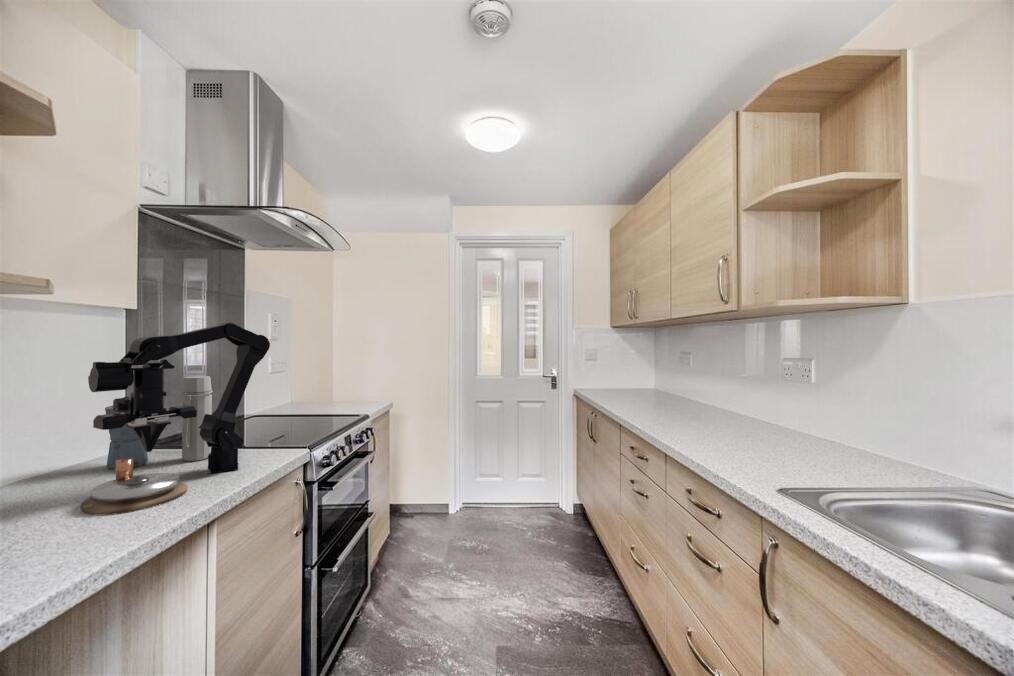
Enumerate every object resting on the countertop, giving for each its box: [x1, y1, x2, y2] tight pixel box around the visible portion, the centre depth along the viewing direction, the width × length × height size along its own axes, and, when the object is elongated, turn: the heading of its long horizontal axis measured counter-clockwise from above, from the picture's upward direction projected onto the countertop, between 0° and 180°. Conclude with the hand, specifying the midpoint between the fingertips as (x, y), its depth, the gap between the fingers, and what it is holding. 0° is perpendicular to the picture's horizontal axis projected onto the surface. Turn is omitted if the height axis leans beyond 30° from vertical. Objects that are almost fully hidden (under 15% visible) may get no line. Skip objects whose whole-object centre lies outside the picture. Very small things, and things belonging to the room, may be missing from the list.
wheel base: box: [80, 481, 188, 515], centre depth 95 cm, size 18×18×1 cm
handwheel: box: [90, 458, 180, 502], centre depth 96 cm, size 16×15×7 cm
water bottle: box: [180, 375, 214, 462], centre depth 127 cm, size 9×8×25 cm
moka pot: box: [104, 396, 149, 470], centre depth 121 cm, size 10×15×20 cm, turn 27°
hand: (148, 451), depth 103 cm, fingers closed
